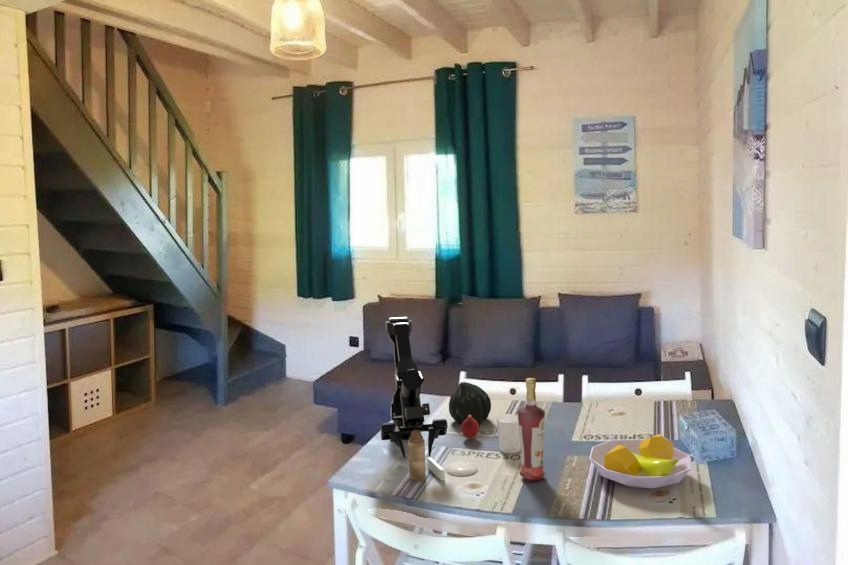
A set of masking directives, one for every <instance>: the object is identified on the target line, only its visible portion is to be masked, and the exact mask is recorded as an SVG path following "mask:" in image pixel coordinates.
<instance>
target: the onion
mask: <svg viewBox="0 0 848 565" xmlns="http://www.w3.org/2000/svg"><path fill="white" fill-rule="evenodd" d="M460 431H461V433H462V435H463V437H465V438H466V439H469V440H472V439H473V438H475V437H476V436H477V435H478V434H479V431H480V425H479V424H478V423H477V421H476V420H475V419H473V418H472V416H471V415H469V416H468V418H467V419H465V420H464V421H463V423H461V426H460Z"/></svg>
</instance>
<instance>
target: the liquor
mask: <svg viewBox="0 0 848 565" xmlns="http://www.w3.org/2000/svg"><path fill="white" fill-rule="evenodd" d="M536 386H537V380H536V378H534V377H527V378H525V387H526V388H525V389H526V397H525V406H522V407H521V408H520V409H519V410H518V411H517V415H518V425H519V438H520V452H519V453H520V471H519V476H521V477H522V479H524V480H526V481H527V482H538V481H540V480H541V479H543V477H544V476H545V475H546V474H545V471H544V444H545V442H544V441H545V426H546V425H545V423H546V421H545V420H546V418H545V416H546V411H545V410H544V409H543V408H541V407H539V406H538V405H537V396H536Z"/></svg>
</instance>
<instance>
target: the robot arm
mask: <svg viewBox="0 0 848 565" xmlns="http://www.w3.org/2000/svg"><path fill="white" fill-rule="evenodd" d="M412 332H413V321H412V320H411V319H408V317H407V316H398V317H397V316H396V317H389V318H388V320H386V321H385V333H386V334H387V337H388V339H389V340H390V341H391V343H392V344H393V345H392V346H393V357H394V361H393V362H394V384H395V387H396V388H395V390H394V392H393V395H392V396H391V402H390V410H389V411H390V412H389V413H390V420H391V421H392V422H384V423H383V422H382V424H381V425H380V438H381V441H389V442H390V443H393V444H394V445H395V446H396V447H397V449H398V451H399V452H400V455H401V457H402V458H403V460H406V459H407V458H406V456H407V455H406V450H405V445H404V441H403V440H405V441H408V440H409V437H410V436H411V432H412V431H413V430H419V431H420V432H421V433H422V432H428V436H427V447H428V448H427V453H428V458H429V457H431V455H432V450H433V445H434V443H435V442H434V441H435V440H436V439H439V436H440V437H441V436H446V435H447V431H448V427H449V426H448V420H447V419H446V418H434V419H432V422H431V423H426V424H424V423H425V416H430V414H431V409H430V403H429V402H426V403H422V402H421V393H422V386H423V383H424V382H425V377H424V375H423V374H422V373H421V371H420V370H419V368H418V364H417V362H416V361H415V360H414V359H413V356H412V350H411V349H412V348H411V342H410V336H411V333H412Z"/></svg>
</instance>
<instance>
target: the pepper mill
mask: <svg viewBox="0 0 848 565" xmlns="http://www.w3.org/2000/svg"><path fill="white" fill-rule="evenodd" d="M425 442H426V441H425V439H424V436H423V435H422V432H420V431H419V430H413V431H412V432H411V436H410V437H409V439H408V440H407V446H408V448H407V450H408V452H407V453H408V474H409V475H408V476H409V481H411V482H412V483H420V482H424V481H425V480H426V478H427V473H426V472H427V471H426V470H427V469H426V446H425Z"/></svg>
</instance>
